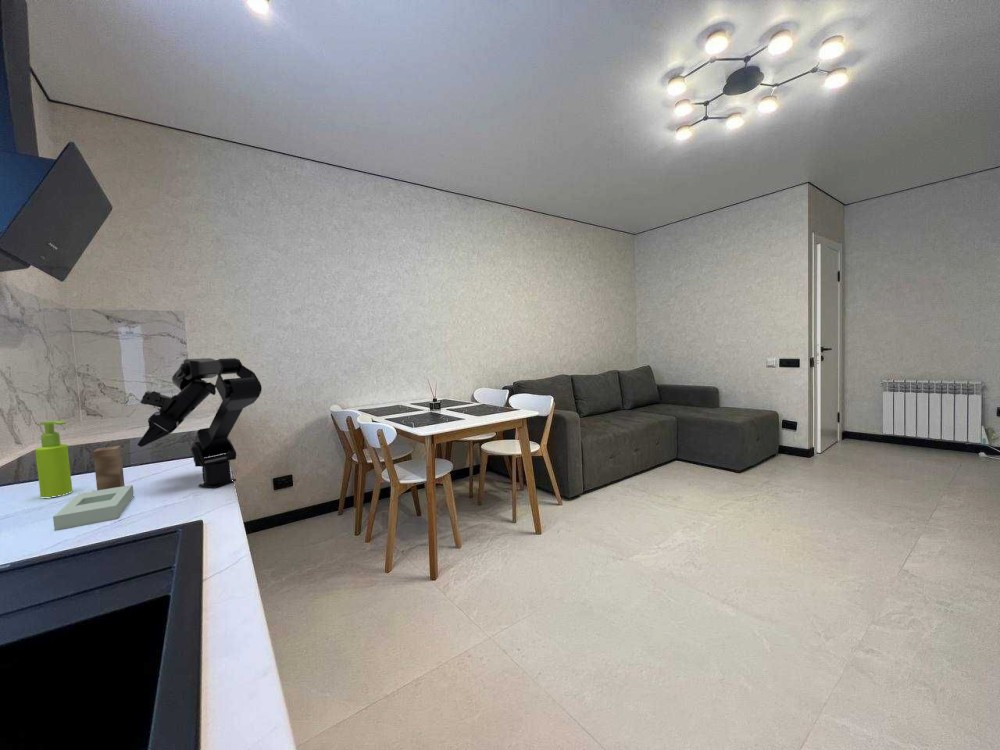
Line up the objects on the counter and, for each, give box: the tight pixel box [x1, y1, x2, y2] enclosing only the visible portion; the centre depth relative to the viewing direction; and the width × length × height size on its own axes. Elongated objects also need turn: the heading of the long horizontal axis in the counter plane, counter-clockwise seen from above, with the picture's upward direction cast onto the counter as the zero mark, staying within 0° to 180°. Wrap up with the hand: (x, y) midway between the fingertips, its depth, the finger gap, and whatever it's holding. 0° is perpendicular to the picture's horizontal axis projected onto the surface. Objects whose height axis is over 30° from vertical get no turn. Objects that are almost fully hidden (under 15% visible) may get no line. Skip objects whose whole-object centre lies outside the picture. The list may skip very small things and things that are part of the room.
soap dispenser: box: [34, 420, 73, 498], centre depth 112 cm, size 6×7×20 cm
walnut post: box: [92, 445, 126, 491], centre depth 110 cm, size 4×4×12 cm
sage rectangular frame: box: [52, 484, 134, 531], centre depth 99 cm, size 18×10×3 cm, turn 32°
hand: (142, 443), depth 114 cm, fingers open, 9 cm apart
